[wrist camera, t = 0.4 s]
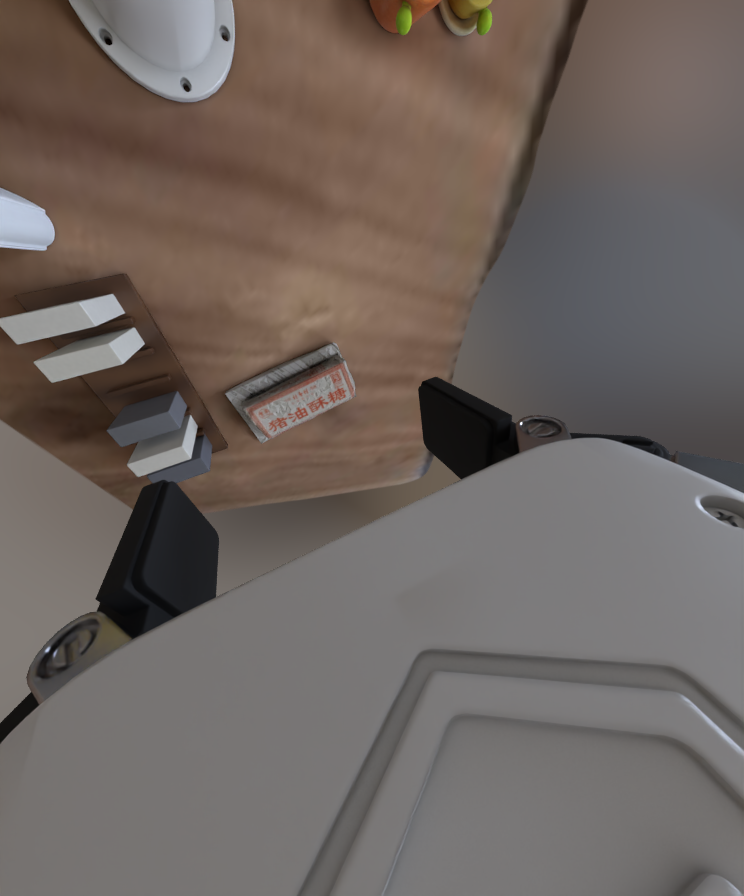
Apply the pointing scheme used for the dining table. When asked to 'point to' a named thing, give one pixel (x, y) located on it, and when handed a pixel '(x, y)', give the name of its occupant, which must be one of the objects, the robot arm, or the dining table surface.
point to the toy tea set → (404, 3)
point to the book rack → (142, 371)
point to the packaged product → (293, 392)
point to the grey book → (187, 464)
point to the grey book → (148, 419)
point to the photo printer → (23, 223)
